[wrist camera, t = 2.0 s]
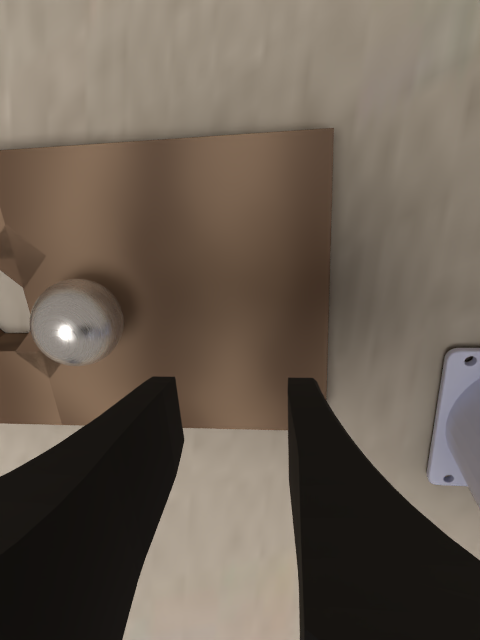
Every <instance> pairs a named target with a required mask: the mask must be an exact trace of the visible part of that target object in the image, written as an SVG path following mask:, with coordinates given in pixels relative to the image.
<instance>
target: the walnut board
mask: <svg viewBox="0 0 480 640" xmlns="http://www.w3.org/2000/svg"><path fill="white" fill-rule="evenodd" d="M333 137H334V128H326V129H311V130H297V131H282V132H267V133H252V134H237V135H222V136H207V137H192V138H177V139H162V140H147V141H133V142H118V143H103V144H88V145H73V146H58V147H43V148H28V149H13V150H0V270H1V271H2V272H4V273H5V274H6V275H7V276H9V277H10V278H11V279H13V280H14V281H15V282H16V283H18V284H19V285H20V286H22V287H23V289H24V293H25V296H26V300H27V303H28V307H29V310H30V314H31V311H32V308H33V306H34V303H35V302H36V300H37V299H38V297H39V296H40V295H41V294H42V293H43V292H44V291H45V290H46V289H47V288H49V287H50V286H52V285H54V284H56V283H58V282H60V281H64V280H68V279H86V280H90V281H93V282H96V283H98V284H100V285H102V286H104V287H105V288H107V289H108V290H109V291H110V292H111V293H112V294H113V295H114V296H115V298H116V299H117V300H118V302H119V304H120V306H121V309H122V313H123V318H124V327H123V333H122V336H121V339H120V341H119V343H118V344H117V346H116V347H115V349H114V350H113V351H112V352H111V353H110V354H109V355H108V356H106V357H105V358H103V359H102V360H100V361H98V362H96V363H93V364H90V365H85V366H68V365H63V364H60V363H58V362H55V361H54V360H52V359H50V358H49V357H47V356H46V355H45V354H44V353H43V352H42V351H41V350H40V349H39V348H38V347H37V345H36V343H35V342H34V340H33V337H32V335H31V331H30V332H29V333H4V332H3V331H2V330H0V423H8V424H50V425H87V424H88V423H90V422H91V421H93V420H94V419H95V418H97V417H98V416H100V415H101V414H102V413H104V412H105V411H106V410H108V409H109V408H110V407H112V406H113V405H114V404H116V403H117V402H118V401H120V400H121V399H122V398H124V397H125V396H126V395H127V394H129V393H130V392H131V391H133V390H134V389H135V388H137V387H138V386H139V385H141V384H142V383H143V382H145V381H146V380H148V379H149V378H151V377H152V376H159V377H175V379H176V386H177V393H178V400H179V407H180V414H181V421H182V428H216V429H258V430H288V378H314V379H315V380H316V381H317V382H318V385H319V387H320V390H321V392H322V394H323V396H324V397H325V399H326V391H327V355H328V318H329V282H330V246H331V209H332V173H333Z"/></svg>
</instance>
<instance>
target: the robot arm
mask: <svg viewBox="0 0 480 640" xmlns="http://www.w3.org/2000/svg"><path fill="white" fill-rule="evenodd" d="M469 356H473V359H472V360H471V361H469V362H464V361H465V359H466V358H467V357H469ZM183 444H184V435H183V428H182V421H181V414H180V407H179V400H178V393H177V386H176V379H175V377H159V376H152V377H151V378H149V379H148V380H146V381H145V382H143V383H142V384H141V385H139V386H138V387H137V388H135V389H134V390H133V391H131V392H130V393H129V394H127V395H126V396H125V397H124V398H122V399H121V400H120V401H118V402H117V403H116V404H114V405H113V406H112V407H110V408H109V409H108V410H106V411H105V412H104V413H102V414H101V415H100V416H98V417H97V418H95V419H94V420H93V421H91V422H90V423H88V424H87V425H85V426H84V427H82V428H81V429H79V430H78V431H77V432H75V433H74V434H72V435H71V436H69V437H68V438H66V439H65V440H63V441H62V442H60V443H59V444H57V445H56V446H54V447H52V448H51V449H49V450H48V451H46V452H44V453H43V454H41V455H39V456H37V457H36V458H34V459H32V460H30V461H29V462H27V463H25V464H23V465H22V466H20V467H18V468H16V469H14V470H13V471H11V472H9V473H7V474H5V475H3V476H1V477H0V640H122V639H123V635H124V631H125V627H126V623H127V619H128V616H129V612H130V608H131V605H132V601H133V597H134V594H135V590H136V586H137V582H138V579H139V576H140V573H141V570H142V567H143V564H144V561H145V558H146V555H147V553H148V550H149V547H150V545H151V542H152V539H153V537H154V534H155V531H156V529H157V526H158V523H159V521H160V518H161V516H162V513H163V510H164V508H165V505H166V502H167V499H168V497H169V494H170V491H171V489H172V486H173V483H174V480H175V478H176V474H177V470H178V466H179V462H180V458H181V453H182V448H183ZM288 445H289V484H290V495H291V505H292V515H293V525H294V535H295V545H296V555H297V565H298V579H299V609H300V640H480V560H479V559H477V558H476V557H475V556H473V555H472V554H471V553H469V552H468V551H467V550H465V549H464V548H463V547H461V546H460V545H459V544H458V543H456V542H455V541H454V540H452V539H451V538H450V537H448V536H447V535H446V534H445V533H444V532H442V531H441V530H440V529H439V528H438V527H437V526H436V525H434V524H433V523H432V522H431V521H430V520H429V519H427V518H426V517H425V516H424V515H423V514H422V513H420V512H419V511H418V510H417V509H416V508H415V507H414V506H412V505H411V504H410V503H409V502H408V501H407V500H406V499H405V498H404V497H403V496H402V495H401V494H400V493H399V492H398V491H397V490H396V489H395V488H394V487H393V486H392V485H391V484H390V483H389V482H388V481H387V480H386V479H385V478H384V477H383V476H382V475H381V474H380V472H379V471H378V470H377V469H376V468H375V467H374V466H373V465H372V463H371V462H370V461H369V460H368V459H367V458H366V456H365V455H364V454H363V453H362V451H361V450H360V449H359V448H358V446H357V445H356V444H355V443H354V441H353V440H352V439H351V437H350V436H349V435H348V433H347V432H346V430H345V429H344V428H343V426H342V425H341V423H340V422H339V420H338V419H337V417H336V416H335V414H334V413H333V411H332V410H331V408H330V406H329V404H328V403H327V401H326V399H325V397H324V396H323V394H322V392H321V390H320V387H319V385H318V382H317V381H316V380H315V379H314V378H288ZM446 475H450V476H448V477H445V476H446ZM427 477H428V480H429V481H430V483H432V484H435V485H452V486H468V487H469V489H470V491H471V493H472V495H473V497H474V499H475V501H476V503H477V505H478V507H479V509H480V348H454V349H451V350H449V351H448V352H447V353H446V355H445V358H444V365H443V371H442V378H441V384H440V390H439V397H438V403H437V410H436V416H435V422H434V429H433V435H432V442H431V448H430V454H429V461H428V467H427Z"/></svg>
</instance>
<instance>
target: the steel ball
mask: <svg viewBox="0 0 480 640" xmlns="http://www.w3.org/2000/svg"><path fill="white" fill-rule="evenodd" d="M123 327H124V318H123V313H122V309H121V306H120V304H119V302H118V300H117V299H116V298H115V296H114V295H113V294H112V293H111V292H110V291H109V290H108V289H107V288H105V287H104V286H102V285H100V284H98V283H96V282H93V281H90V280H86V279H68V280H64V281H60V282H58V283H56V284H54V285H52V286H50V287H49V288H47V289H46V290H45V291H44V292H43V293H42V294H41V295H40V296H39V297H38V299H37V300H36V302H35V303H34V306H33V308H32V311H31V315H30V330H31V335H32V337H33V340H34V342H35V343H36V345H37V347H38V348H39V349H40V350H41V351H42V352H43V353H44V354H45V355H46V356H47V357H49V358H50V359H52V360H54V361H55V362H58V363H60V364H63V365H68V366H85V365H90V364H93V363H96V362H98V361H100V360H102V359H103V358H105V357H106V356H108V355H109V354H110V353H111V352H112V351H113V350H114V349H115V347H116V346H117V344H118V343H119V341H120V339H121V336H122V333H123Z"/></svg>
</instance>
